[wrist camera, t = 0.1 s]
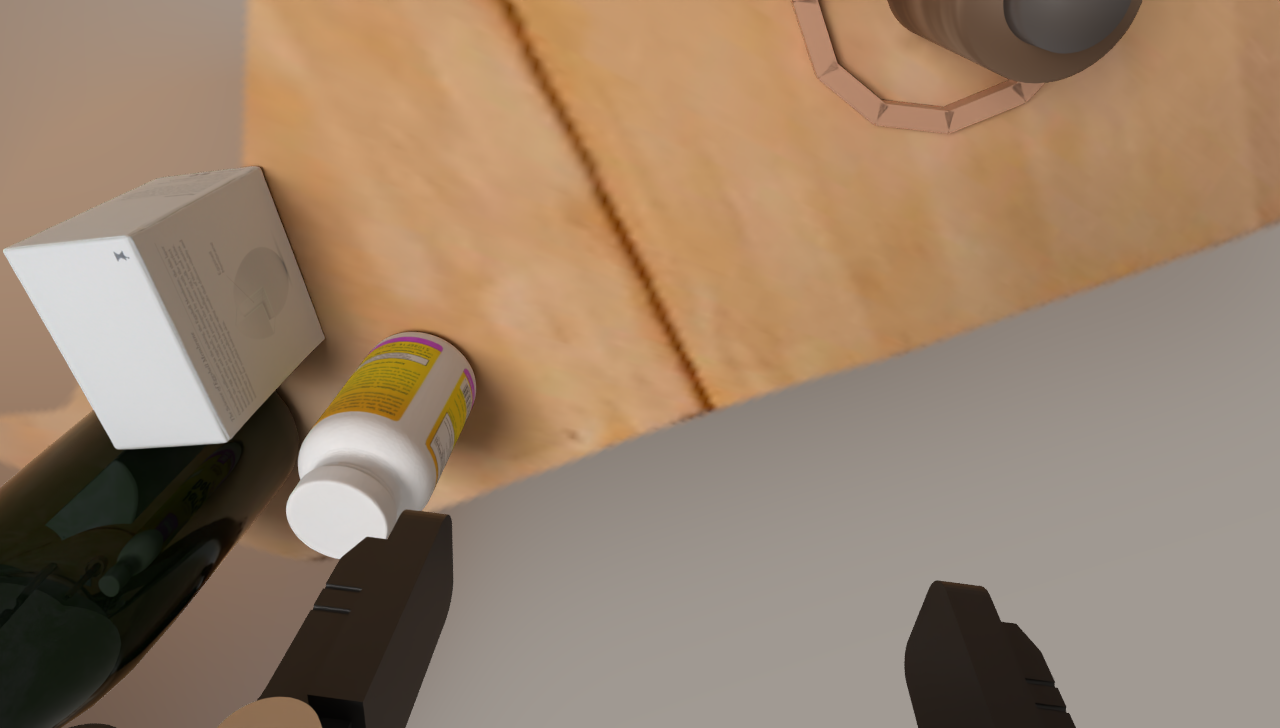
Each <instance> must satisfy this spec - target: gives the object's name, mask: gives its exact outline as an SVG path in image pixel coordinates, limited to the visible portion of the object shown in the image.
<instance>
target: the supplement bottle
mask: <svg viewBox="0 0 1280 728" xmlns="http://www.w3.org/2000/svg"><path fill="white" fill-rule="evenodd" d="M475 397H476V380H475V376H474V373H473V370H472V368H471V366H470V364H469V363H468V361H467V360H466V358H465V357H464V356H463V355H462V353H461V352H459V351H458V350H457V349H456V348H455V347H454V346H453V345H451V344H450V343H448V342H447V341H445V340H443V339H441V338H439V337H437V336H434V335H431V334H427V333H421V332H404V333H398V334H395V335H392V336H390V337H387V338H386V339H384V340H382V341H381V342H380V343H379V344H377V345H376V346H375V347H374V348H373V349H372V350H371V352H370V353H369V354H368V355H367V357H366V358H365V359H364V361H363V362H362V363H361V364H360V366H359V367H358V368H357V370H356V371H355V372H354V374H353V375H352V376H351V377H350V379H349V380H348V381H347V383H346V384H345V385H344V387H343V388H342V389H341V391H340V392H339V393H338V395H337V396H336V397H335V399H334V400H333V401H332V403H331V404H330V405H329V407H328V408H327V409H326V411H325V412H324V413H323V414H322V416H321V417H320V418H319V420H318V421H317V422H316V424H315V425H314V426H313V428H312V429H311V430H310V432H309V433H308V435H307V436H306V438H305V439H304V441H303V443H302V446H301V448H300V451H299V456H298V471H299V476H300V481H299V483H298V484H297V486H296V487H295V489H294V490H293V492H292V493H291V495H290V497H289V499H288V501H287V506H286V515H287V520H288V522H289V525H290V527H291V528H292V530H293V532H294V533H295V534H296V535H297V537H298V538H299V539H300V540H301V541H302V542H303V543H305V544H306V545H307V546H308V547H310V548H311V549H313V550H315V551H317V552H319V553H321V554H324V555H326V556H329V557H332V558H337V559H341V557H342V556H344V555H345V554H346V553H347V552H348V551H350V550H351V549H352V548H353V547H355V546H356V545H357V544H358V543H359V542H361V541H362V540H363V539H364V538H366V537H374V538H382V539H387V538H388V536H389V535H390V533H391V532H392V530H393V528H394V526H395V524H396V522H397V520H398V518H399V516H400V514H401V513H402V512H403V511H404V510H406V509H408V510H416V511H422V509H423V508H424V507H425V506H426V504H427V503H428V501H429V499H430V497H431V495H432V493H433V491H434V489H435V487H436V484H437V482H438V480H439V478H440V476H441V474H442V471H443V469H444V467H445V465H446V463H447V461H448V459H449V457H450V454H451V452H452V450H453V448H454V446H455V444H456V442H457V440H458V437H459V435H460V433H461V431H462V429H463V427H464V425H465V423H466V420H467V418H468V416H469V414H470V412H471V409H472V407H473V404H474V401H475Z"/></svg>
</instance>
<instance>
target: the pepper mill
mask: <svg viewBox="0 0 1280 728" xmlns="http://www.w3.org/2000/svg"><path fill="white" fill-rule="evenodd" d="M887 1H888V3H889V6H890V9H891V11H892V12H893V14H894V16H895V17H896V19H897V20H898V21H899V22H900V23H901V24H902V25H903V26H904V27H905V28H907V29H908V30H910V31H912V32H913V33H915V34H917V35H919V36H921V37H924V38H926V39H928V40H930V41H932V42H934V43H936V44H938V45H940V46H942V47H944V48H946V49H948V50H950V51H952V52H954V53H956V54H958V55H960V56H962V57H964V58H967V59H969V60H971V61H973V62H975V63H977V64H979V65H981V66H983V67H985V68H987V69H989V70H991V71H993V72H995V73H997V74H999V75H1001V76H1003V77H1005V78H1008V79H1011V80H1014V81H1018V82H1023V83H1048V82H1053V81H1057V80H1061V79H1064V78H1067V77H1070V76H1072V75H1074V74H1076V73H1079V72H1081V71H1083V70H1084V69H1086V68H1088V67H1089V66H1091V65H1093V64H1094V63H1095V62H1097V61H1098V60H1099V59H1101V58H1102V57H1103V56H1104V55H1105V54H1106V53H1107V52H1109V51H1110V50H1111V49H1112V48H1113V47H1114V46H1115V44H1116V43H1117V42H1118V41H1119V40H1120V39H1121V38H1122V36H1123V35H1124V34H1125V32H1126V31H1127V29H1128V28H1129V27H1130V25H1131V23H1132V21H1133V20H1134V18H1135V16H1136V14H1137V12H1138V10H1139V7H1140V5H1141V3H1142V0H887Z"/></svg>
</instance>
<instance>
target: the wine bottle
mask: <svg viewBox="0 0 1280 728" xmlns="http://www.w3.org/2000/svg"><path fill="white" fill-rule="evenodd" d="M298 452H299V441H298V431H297V428H296V424H295V421H294V418H293V416H292V414H291V412H290V410H289V408H288V407H287V405H286V404H285V403H284V401H283V400H282V399H281V397H280V396H279V395H278V393H277V392H276V391H274V392H273V393H272V394H271V395H270V396H269V397H268V399H267V400H266V401H265V402H264V403H263V404H262V405H261V406H260V407H259V408H258V409H257V410H256V412H255V413H254V414H253V415H252V416H251V417H250V418H249V419H248V421H247V422H246V423H245V424H244V425H243V426H242V427H241V429H240V430H239V431H238V432H237V433H236V434H235V435H234V436H233V438H232V439H230V440H229V441H228V442H226V443H218V444H203V445H188V446H173V447H157V448H143V449H116V448H115V447H114V445H113V443H112V441H111V440H110V438H109V436H108V434H107V433H106V431H105V429H104V427H103V426H102V424H101V422H100V420H99V419H98V417H97V415H96V413H95V411H94V410H92V411H91V412H90V413H89V414H88V415H86V416H85V417H84V418H83V419H81V420H80V421H79V422H78V423H77V424H75V425H74V426H73V427H72V428H71V429H69V430H68V431H67V432H66V433H65V434H63V435H62V436H61V437H60V438H59V439H57V440H56V441H55V442H54V443H53V444H51V445H50V446H49V447H48V448H46V449H45V450H44V451H43V452H42V453H40V454H39V455H38V456H37V457H36V458H34V459H33V460H32V461H31V462H30V463H28V464H27V465H26V466H25V467H24V468H22V469H21V470H20V471H19V472H18V473H17V474H15V475H14V476H13V477H12V478H11V479H9V480H8V481H7V482H6V483H5V484H3V485H2V486H1V487H0V728H62V727H64V726H65V725H66V724H68V723H70V722H71V721H72V720H74V719H75V718H77V717H78V716H80V715H81V714H83V713H84V712H86V711H87V710H88V709H90V708H91V707H93V706H94V705H95V704H96V703H97V702H98V701H99V700H100V699H101V698H103V697H104V696H105V695H106V694H107V693H108V692H109V691H110V690H112V689H113V688H114V687H115V686H116V685H117V684H118V683H119V682H120V681H121V680H123V679H124V678H125V677H126V676H127V675H128V674H129V673H130V672H131V671H132V670H133V669H134V668H135V667H136V665H137V664H138V663H139V662H140V661H141V660H142V659H143V657H144V656H145V655H146V654H147V653H148V651H149V650H150V649H151V648H152V647H153V646H154V645H155V644H156V642H157V641H158V640H159V639H160V638H161V637H162V636H163V634H164V633H165V632H166V631H167V630H168V629H169V627H170V626H171V625H172V624H173V623H174V622H175V621H176V619H177V618H178V617H179V616H180V614H181V613H182V612H183V611H184V609H185V608H186V607H187V606H188V604H189V603H190V602H191V601H192V599H193V598H194V597H195V596H196V594H197V593H198V592H199V590H200V589H201V588H202V587H203V586H204V584H205V583H206V582H207V581H208V579H209V578H210V577H211V576H212V574H213V573H214V572H215V571H216V569H217V568H218V567H219V565H220V564H221V563H222V562H223V561H224V559H225V558H226V557H227V556H228V554H229V553H230V552H231V550H232V549H233V548H234V547H235V545H236V544H237V543H238V542H239V540H240V539H241V538H242V537H243V535H244V534H245V533H246V532H247V530H248V529H249V528H250V527H251V525H252V524H253V523H254V521H255V520H256V519H257V518H258V516H259V515H260V514H261V512H262V511H263V510H264V509H265V507H266V506H267V505H268V503H269V502H270V501H271V499H272V498H273V497H274V496H275V494H276V493H277V492H278V490H279V489H280V488H281V487H282V485H283V484H284V482H285V481H286V479H287V478H288V476H289V475H290V473H291V471H292V469H293V468H294V466H295V464H296V462H297V457H298Z"/></svg>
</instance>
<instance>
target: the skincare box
mask: <svg viewBox="0 0 1280 728" xmlns="http://www.w3.org/2000/svg"><path fill="white" fill-rule="evenodd" d="M3 252H4V254H5V256H6V258H7V260H8V261H9V263H10V265H11V266H12V268H13V270H14V272H15V273H16V275H17V277H18V278H19V280H20V282H21V284H22V285H23V287H24V289H25V290H26V292H27V294H28V296H29V298H30V299H31V301H32V303H33V305H34V306H35V308H36V310H37V311H38V313H39V315H40V317H41V318H42V320H43V322H44V324H45V326H46V327H47V329H48V331H49V333H50V334H51V336H52V338H53V339H54V341H55V343H56V345H57V346H58V348H59V350H60V352H61V353H62V355H63V357H64V359H65V360H66V362H67V364H68V366H69V368H70V369H71V371H72V373H73V375H74V377H75V378H76V380H77V381H78V383H79V385H80V387H81V389H82V390H83V392H84V394H85V396H86V397H87V399H88V401H89V403H90V404H91V406H92V408H93V410H94V411H95V413H96V415H97V417H98V419H99V420H100V422H101V424H102V426H103V427H104V429H105V431H106V433H107V434H108V436H109V438H110V440H111V441H112V443H113V445H114V447H115V448H116V449H143V448H157V447H173V446H188V445H203V444H218V443H226V442H228V441H229V440H230V439H232V438H233V436H234V435H235V434H236V433H237V432H238V431H239V430H240V429H241V427H242V426H243V425H244V424H245V423H246V422H247V421H248V419H249V418H250V417H251V416H252V415H253V414H254V413H255V412H256V410H257V409H258V408H259V407H260V406H261V405H262V404H263V403H264V402H265V401H266V400H267V399H268V397H269V396H270V395H271V394H272V393H273V392H274V391H275V390H276V389H277V388H278V387H279V386H280V385H281V384H282V382H283V381H284V380H285V379H286V378H287V377H288V376H289V375H290V374H291V373H292V372H293V371H294V370H295V369H296V368H297V367H298V365H299V364H300V363H301V362H302V361H303V360H304V359H305V358H306V357H307V356H308V355H309V354H310V353H311V352H312V351H313V350H314V349H315V348H316V347H317V346H318V345H319V344H320V343H321V342H322V341H323V340H324V339H325V337H324V334H323V332H322V329H321V326H320V323H319V321H318V318H317V315H316V313H315V310H314V307H313V305H312V302H311V299H310V297H309V294H308V291H307V289H306V286H305V283H304V281H303V278H302V275H301V273H300V270H299V267H298V265H297V262H296V259H295V257H294V254H293V251H292V249H291V246H290V243H289V241H288V238H287V236H286V233H285V230H284V228H283V225H282V223H281V220H280V218H279V215H278V213H277V210H276V207H275V205H274V202H273V199H272V197H271V194H270V191H269V189H268V186H267V184H266V181H265V179H264V176H263V173H262V170H261V168H260V167H257V166H251V167H243V168H234V169H226V170H218V171H209V172H201V173H193V174H186V175H177V176H169V177H163V178H157V179H154V180H152V181H150V182H148V183H146V184H144V185H142V186H140V187H138V188H135V189H133V190H131V191H128V192H126V193H124V194H122V195H120V196H118V197H116V198H113V199H111V200H109V201H107V202H104V203H103V204H100V205H98V206H96V207H94V208H92V209H89V210H87V211H85V212H83V213H81V214H79V215H77V216H74V217H72V218H70V219H68V220H66V221H64V222H61V223H59V224H57V225H55V226H53V227H51V228H48V229H46V230H44V231H42V232H40V233H38V234H35V235H33V236H31V237H29V238H27V239H25V240H23V241H20V242H18V243H16V244H14V245H12V246H9V247H7V248H5V249H4V250H3Z"/></svg>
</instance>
